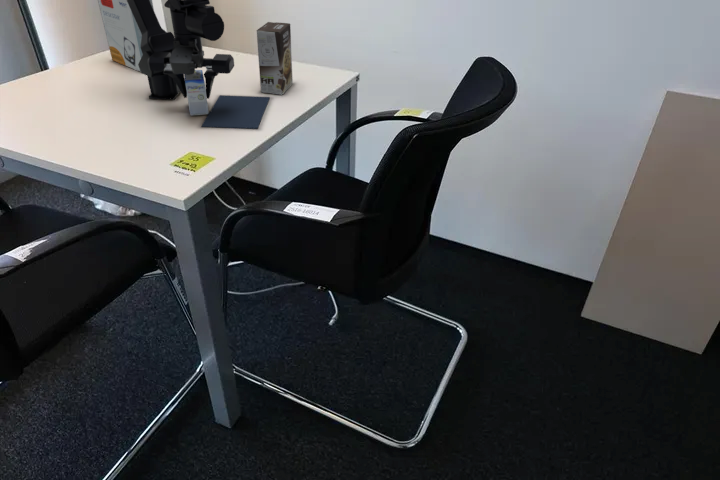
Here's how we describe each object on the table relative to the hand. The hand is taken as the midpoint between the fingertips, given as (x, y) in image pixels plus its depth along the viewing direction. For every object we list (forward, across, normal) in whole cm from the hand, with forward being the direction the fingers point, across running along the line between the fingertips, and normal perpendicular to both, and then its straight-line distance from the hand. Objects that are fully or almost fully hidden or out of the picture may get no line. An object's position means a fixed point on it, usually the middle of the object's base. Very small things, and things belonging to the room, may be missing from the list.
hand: (196, 97), depth 130 cm
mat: (+3, +10, 0) cm, 10 cm away
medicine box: (+3, 0, 0) cm, 3 cm away
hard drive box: (+4, -26, +32) cm, 41 cm away
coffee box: (+3, +17, +17) cm, 24 cm away
